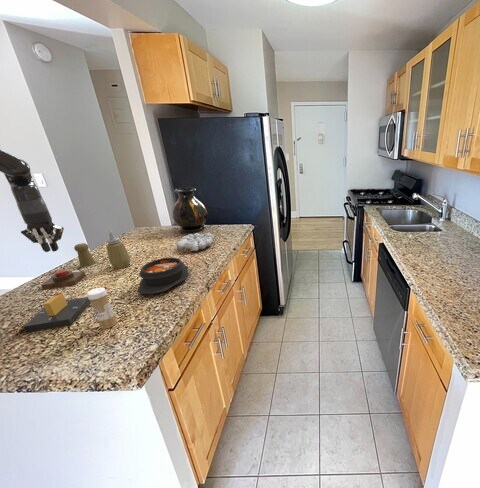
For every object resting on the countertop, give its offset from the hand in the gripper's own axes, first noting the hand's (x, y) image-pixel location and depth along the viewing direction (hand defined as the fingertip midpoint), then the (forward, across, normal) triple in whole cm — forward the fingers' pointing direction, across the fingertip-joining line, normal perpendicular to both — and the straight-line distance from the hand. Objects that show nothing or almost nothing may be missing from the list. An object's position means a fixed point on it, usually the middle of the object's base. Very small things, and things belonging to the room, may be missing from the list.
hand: (51, 250), depth 108 cm
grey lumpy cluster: (+15, +47, +31) cm, 59 cm away
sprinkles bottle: (+15, +33, -37) cm, 52 cm away
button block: (+15, 0, 0) cm, 15 cm away
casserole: (+15, +43, -10) cm, 47 cm away
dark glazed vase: (+15, +39, +64) cm, 76 cm away
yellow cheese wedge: (+13, +15, -28) cm, 34 cm away
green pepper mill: (+15, -1, +18) cm, 24 cm away
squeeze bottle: (+15, +17, +12) cm, 26 cm away
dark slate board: (+15, +14, -28) cm, 35 cm away
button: (+11, 0, 0) cm, 11 cm away
